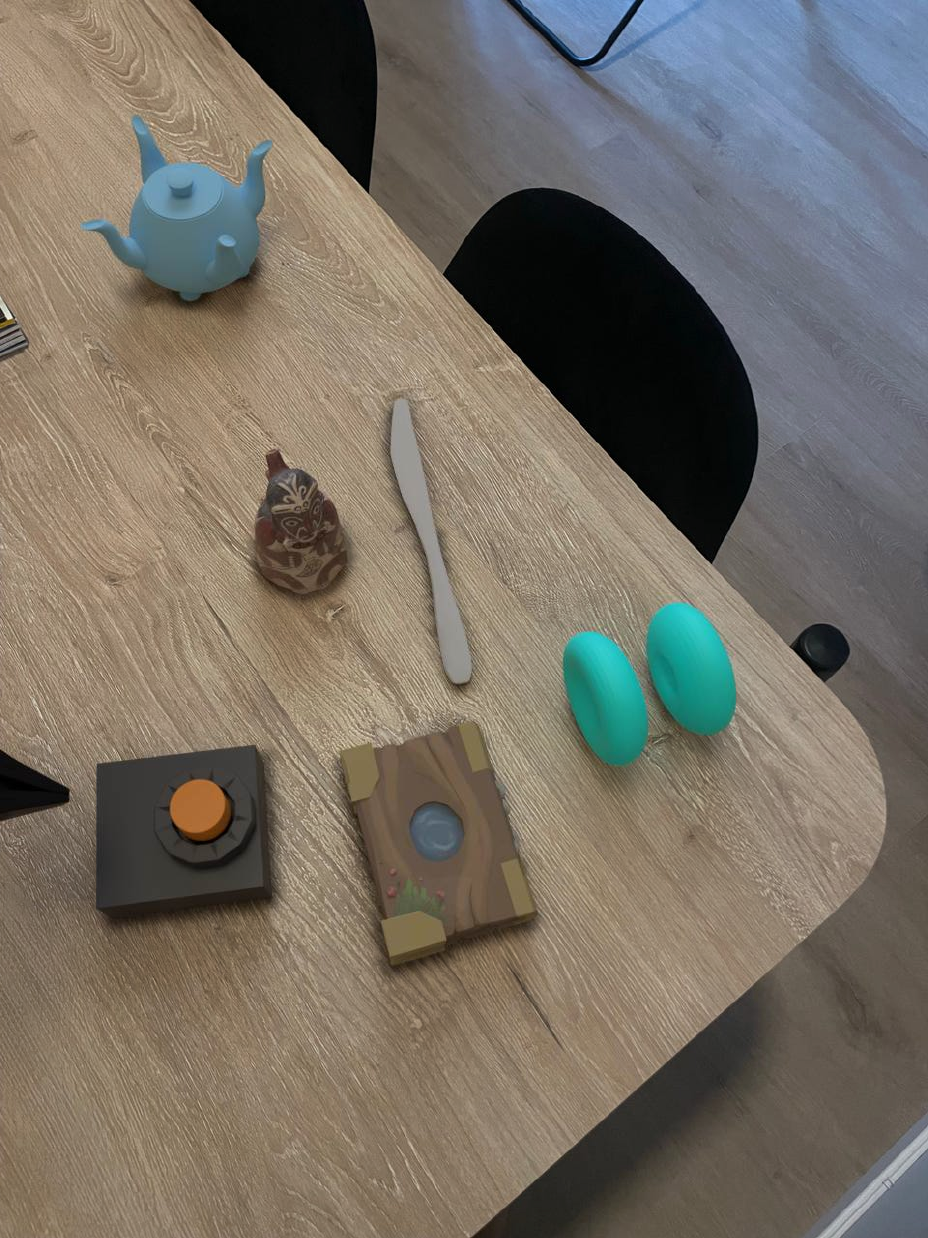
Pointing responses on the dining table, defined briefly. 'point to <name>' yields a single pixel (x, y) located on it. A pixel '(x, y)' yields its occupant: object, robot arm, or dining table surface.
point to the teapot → (189, 222)
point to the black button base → (179, 835)
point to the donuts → (681, 672)
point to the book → (437, 840)
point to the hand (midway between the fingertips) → (66, 797)
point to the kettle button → (200, 810)
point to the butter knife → (429, 544)
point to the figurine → (297, 530)
